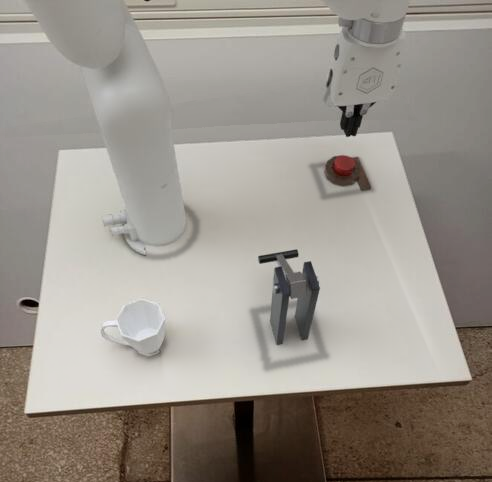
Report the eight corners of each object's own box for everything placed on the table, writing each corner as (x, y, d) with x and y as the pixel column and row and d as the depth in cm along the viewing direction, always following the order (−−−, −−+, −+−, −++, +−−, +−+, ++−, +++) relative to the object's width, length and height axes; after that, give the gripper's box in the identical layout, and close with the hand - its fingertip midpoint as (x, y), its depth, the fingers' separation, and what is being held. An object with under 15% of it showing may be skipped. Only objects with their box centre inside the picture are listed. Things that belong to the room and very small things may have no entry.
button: (336, 178, 92) (338, 170, 90) (330, 164, 93) (332, 156, 92) (355, 175, 92) (357, 167, 90) (349, 161, 94) (351, 153, 92)
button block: (324, 197, 92) (326, 187, 90) (312, 166, 96) (314, 156, 94) (370, 189, 93) (373, 179, 91) (357, 159, 97) (360, 149, 95)
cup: (171, 364, 76) (163, 340, 69) (105, 365, 76) (91, 342, 69) (173, 323, 80) (166, 297, 73) (110, 324, 80) (97, 298, 72)
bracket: (253, 311, 81) (254, 252, 67) (307, 301, 82) (319, 241, 68) (267, 367, 76) (272, 316, 62) (324, 356, 77) (341, 303, 63)
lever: (258, 265, 76) (257, 251, 75) (297, 258, 76) (296, 244, 75) (277, 301, 66) (275, 285, 64) (321, 293, 66) (320, 277, 65)
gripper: (331, 43, 66) (311, 152, 82) (436, 31, 68) (397, 140, 84) (315, 10, 69) (300, 121, 86) (416, 0, 71) (382, 111, 87)
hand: (348, 130), depth 85 cm, fingers closed
